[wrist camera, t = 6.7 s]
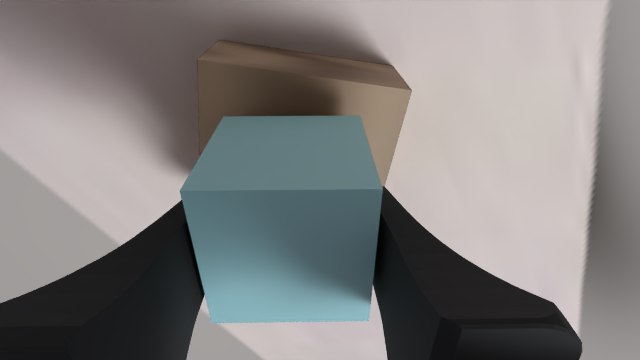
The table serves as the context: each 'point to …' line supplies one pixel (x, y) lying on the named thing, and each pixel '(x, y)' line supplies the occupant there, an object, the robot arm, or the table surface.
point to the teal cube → (285, 219)
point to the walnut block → (301, 91)
